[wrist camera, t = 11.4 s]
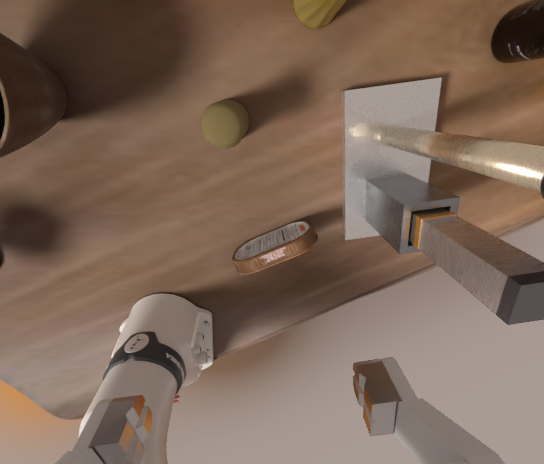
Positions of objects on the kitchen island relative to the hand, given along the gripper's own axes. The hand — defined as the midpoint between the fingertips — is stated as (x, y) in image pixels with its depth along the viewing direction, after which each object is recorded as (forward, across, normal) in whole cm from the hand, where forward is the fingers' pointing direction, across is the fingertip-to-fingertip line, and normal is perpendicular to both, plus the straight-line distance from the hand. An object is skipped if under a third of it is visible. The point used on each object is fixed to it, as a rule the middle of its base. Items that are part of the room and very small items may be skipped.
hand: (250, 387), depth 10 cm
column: (+29, +22, -7) cm, 37 cm away
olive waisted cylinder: (+37, -2, +8) cm, 38 cm away
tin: (+37, +2, -12) cm, 39 cm away
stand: (+37, +22, -2) cm, 43 cm away
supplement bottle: (+37, +40, +14) cm, 56 cm away
